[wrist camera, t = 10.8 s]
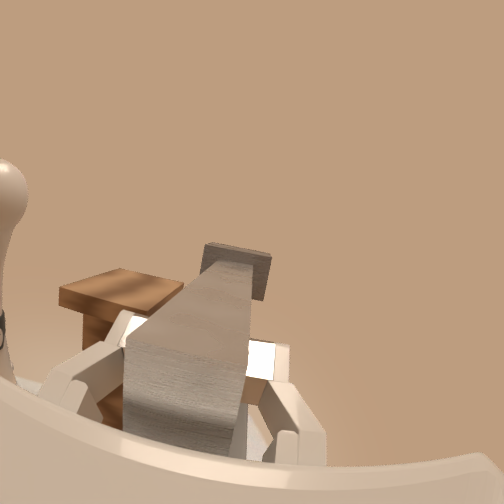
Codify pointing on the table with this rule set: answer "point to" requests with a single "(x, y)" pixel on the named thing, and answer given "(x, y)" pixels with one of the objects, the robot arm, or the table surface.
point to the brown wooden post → (114, 314)
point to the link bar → (195, 355)
